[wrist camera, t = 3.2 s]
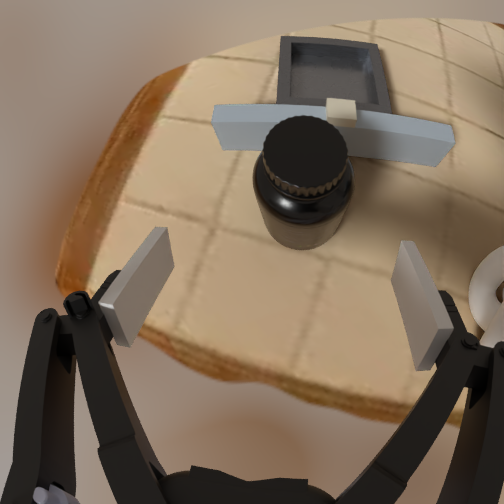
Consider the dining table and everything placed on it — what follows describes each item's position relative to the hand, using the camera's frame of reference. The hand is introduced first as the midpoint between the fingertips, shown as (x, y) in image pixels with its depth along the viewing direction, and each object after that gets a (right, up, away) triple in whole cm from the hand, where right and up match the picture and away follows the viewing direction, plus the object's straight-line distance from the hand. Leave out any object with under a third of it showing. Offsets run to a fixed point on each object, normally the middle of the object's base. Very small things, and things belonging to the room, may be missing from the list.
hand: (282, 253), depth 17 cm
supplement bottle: (+3, +3, +11) cm, 12 cm away
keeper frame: (+7, +19, +13) cm, 24 cm away
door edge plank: (+6, +11, +12) cm, 17 cm away
